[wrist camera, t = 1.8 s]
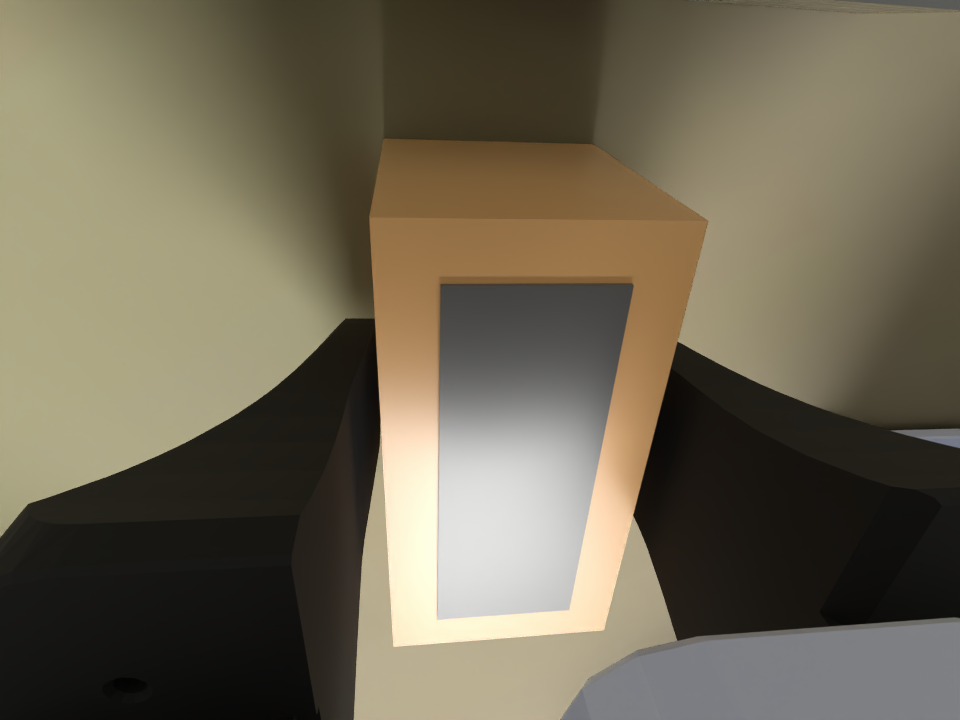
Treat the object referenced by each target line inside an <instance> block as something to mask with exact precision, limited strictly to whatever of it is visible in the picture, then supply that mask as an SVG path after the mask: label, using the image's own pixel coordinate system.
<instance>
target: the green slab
mask: <svg viewBox="0 0 960 720" xmlns="http://www.w3.org/2000/svg"><path fill="white" fill-rule="evenodd" d="M689 1H702V2H716V3H729V4H743V5H756V6H769V7H783V8H796V9H810V10H823V11H837V12H850V13H922V12H960V0H689Z"/></svg>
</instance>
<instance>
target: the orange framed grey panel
mask: <svg viewBox="0 0 960 720" xmlns="http://www.w3.org/2000/svg"><path fill="white" fill-rule="evenodd" d="M369 222H370V240H371V258H372V276H373V293H374V311H375V329H376V347H377V364H378V382H379V400H380V418H381V435H382V453H383V471H384V489H385V506H386V524H387V542H388V560H389V577H390V595H391V613H392V631H393V647H397V646H410V645H423V644H436V643H448V642H461V641H474V640H486V639H499V638H512V637H524V636H537V635H550V634H563V633H575V632H588V631H601V630H604V627H605V623H606V619H607V615H608V611H609V607H610V604H611V600H612V596H613V592H614V588H615V584H616V580H617V576H618V572H619V568H620V564H621V561H622V557H623V553H624V549H625V545H626V541H627V537H628V533H629V529H630V525H631V521H632V518H633V514H634V510H635V506H636V502H637V498H638V494H639V490H640V486H641V482H642V478H643V475H644V471H645V467H646V463H647V459H648V455H649V451H650V447H651V443H652V439H653V435H654V432H655V428H656V424H657V420H658V416H659V412H660V408H661V404H662V400H663V396H664V392H665V389H666V385H667V381H668V377H669V373H670V369H671V365H672V361H673V357H674V353H675V349H676V346H677V342H678V338H679V334H680V330H681V326H682V322H683V318H684V314H685V310H686V306H687V303H688V299H689V295H690V291H691V287H692V283H693V279H694V275H695V271H696V267H697V263H698V260H699V256H700V252H701V248H702V244H703V240H704V236H705V232H706V228H707V224H708V220H706V219H705V218H703V217H702V216H700V215H699V214H697V213H696V212H694V211H693V210H691V209H690V208H688V207H687V206H685V205H684V204H682V203H681V202H679V201H678V200H676V199H675V198H673V197H672V196H670V195H669V194H667V193H666V192H664V191H663V190H661V189H660V188H658V187H657V186H655V185H654V184H652V183H651V182H649V181H648V180H646V179H645V178H643V177H642V176H640V175H639V174H637V173H636V172H634V171H633V170H631V169H630V168H628V167H627V166H625V165H624V164H622V163H621V162H619V161H618V160H616V159H615V158H613V157H612V156H610V155H609V154H607V153H606V152H604V151H603V150H601V149H600V148H598V147H597V146H595V145H594V144H565V143H529V142H492V141H455V140H418V139H384V140H383V145H382V151H381V156H380V162H379V167H378V172H377V178H376V183H375V189H374V194H373V200H372V205H371V211H370V216H369Z"/></svg>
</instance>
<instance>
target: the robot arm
mask: <svg viewBox="0 0 960 720" xmlns="http://www.w3.org/2000/svg"><path fill="white" fill-rule="evenodd" d="M380 421H381V418H380V400H379V382H378V364H377V347H376V329H375V319H345V320H344V321H343V322H342V323H341V324H340V325H339V326H338V327H337V328H336V329H335V330H334V331H333V332H332V333H331V334H330V335H329V337H328V338H327V339H326V340H325V341H324V342H323V343H322V344H321V345H320V346H319V347H318V348H317V349H316V350H315V351H314V352H313V353H312V354H311V355H310V356H309V357H308V358H307V359H306V360H305V361H304V362H303V363H302V364H301V365H300V366H299V367H298V368H297V369H296V370H295V371H294V372H292V373H291V374H290V375H289V376H288V377H287V378H285V379H284V380H283V381H282V382H281V383H280V384H278V385H277V386H276V387H275V388H274V389H272V390H271V391H270V392H268V393H267V394H266V395H264V396H263V397H262V398H260V399H259V400H257V401H256V402H254V403H253V404H251V405H250V406H248V407H247V408H245V409H244V410H242V411H241V412H239V413H238V414H236V415H235V416H233V417H231V418H230V419H228V420H226V421H224V422H223V423H221V424H219V425H217V426H215V427H214V428H212V429H210V430H208V431H206V432H205V433H203V434H201V435H199V436H197V437H196V438H194V439H192V440H190V441H188V442H186V443H184V444H182V445H180V446H178V447H176V448H174V449H172V450H170V451H167V452H165V453H163V454H161V455H159V456H157V457H154V458H152V459H150V460H147V461H145V462H143V463H140V464H138V465H136V466H133V467H131V468H129V469H126V470H124V471H121V472H119V473H116V474H113V475H111V476H108V477H106V478H103V479H100V480H97V481H94V482H91V483H88V484H86V485H83V486H80V487H77V488H74V489H71V490H69V491H66V492H63V493H60V494H57V495H54V496H51V497H49V498H46V499H42V500H39V501H36V502H33V503H30V504H28V505H27V506H26V507H25V508H24V510H23V511H22V512H21V513H20V514H19V515H18V517H17V518H16V519H15V520H14V522H13V523H12V524H11V525H10V527H9V528H8V529H7V530H6V531H5V533H4V534H3V535H2V536H1V538H0V720H354V699H355V677H356V657H357V638H358V618H359V600H360V583H361V566H362V555H363V547H364V539H365V533H366V526H367V520H368V514H369V508H370V502H371V496H372V490H373V484H374V478H375V472H376V466H377V459H378V453H379V447H380ZM633 516H634V518H635V520H636V522H637V524H638V526H639V529H640V531H641V534H642V536H643V538H644V541H645V543H646V546H647V548H648V551H649V554H650V557H651V560H652V563H653V566H654V569H655V572H656V575H657V578H658V581H659V584H660V587H661V590H662V593H663V596H664V599H665V602H666V606H667V609H668V612H669V615H670V618H671V622H672V625H673V628H674V631H675V635H676V638H677V641H675V642H671V643H667V644H662V645H658V646H654V647H649V648H645V649H641V650H637V651H635V652H634V653H632V654H630V655H628V656H627V657H625V658H623V659H621V660H620V661H618V662H616V663H615V664H613V665H611V666H609V667H608V668H606V669H604V670H602V671H601V672H599V673H597V674H596V675H594V676H592V677H590V678H589V679H588V680H587V682H586V683H585V684H584V686H583V687H582V689H581V690H580V692H579V693H578V694H577V696H576V697H575V699H574V700H573V702H572V703H571V704H570V706H569V707H568V709H567V710H566V712H565V713H564V715H563V716H562V718H561V719H560V720H960V429H929V430H892V431H890V430H886V429H883V428H879V427H876V426H872V425H869V424H866V423H863V422H860V421H857V420H854V419H850V418H847V417H844V416H841V415H838V414H835V413H832V412H829V411H826V410H823V409H820V408H818V407H815V406H812V405H809V404H807V403H804V402H802V401H799V400H797V399H794V398H792V397H789V396H787V395H784V394H782V393H779V392H777V391H774V390H772V389H770V388H768V387H765V386H763V385H761V384H759V383H756V382H754V381H752V380H750V379H748V378H746V377H744V376H742V375H740V374H738V373H736V372H734V371H732V370H730V369H728V368H726V367H724V366H722V365H720V364H718V363H716V362H714V361H712V360H710V359H708V358H707V357H705V356H703V355H701V354H699V353H697V352H695V351H694V350H692V349H690V348H688V347H686V346H685V345H683V344H681V343H679V342H677V346H676V349H675V353H674V357H673V361H672V365H671V369H670V373H669V377H668V381H667V385H666V389H665V392H664V396H663V400H662V404H661V408H660V412H659V416H658V420H657V424H656V428H655V432H654V435H653V439H652V443H651V447H650V451H649V455H648V459H647V463H646V467H645V471H644V475H643V478H642V482H641V486H640V490H639V494H638V498H637V502H636V506H635V510H634V514H633Z"/></svg>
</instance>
